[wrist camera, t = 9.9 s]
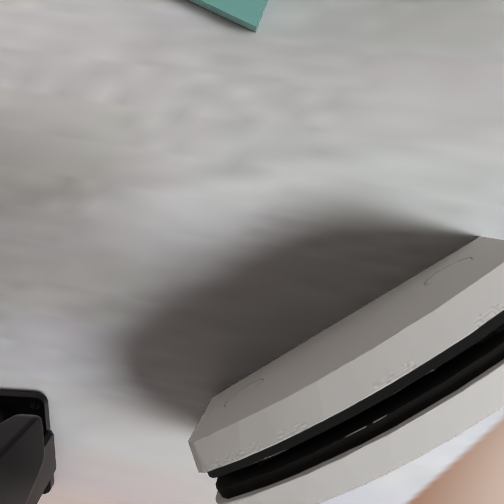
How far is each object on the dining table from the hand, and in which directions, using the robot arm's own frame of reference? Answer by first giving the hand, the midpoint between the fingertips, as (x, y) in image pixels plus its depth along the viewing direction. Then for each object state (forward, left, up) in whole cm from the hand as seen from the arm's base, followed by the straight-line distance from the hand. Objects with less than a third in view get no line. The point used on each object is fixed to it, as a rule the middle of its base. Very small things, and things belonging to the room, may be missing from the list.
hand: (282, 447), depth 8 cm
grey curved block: (+5, -5, -13) cm, 15 cm away
